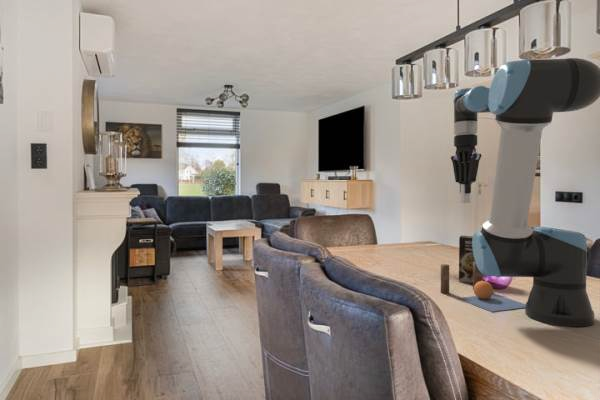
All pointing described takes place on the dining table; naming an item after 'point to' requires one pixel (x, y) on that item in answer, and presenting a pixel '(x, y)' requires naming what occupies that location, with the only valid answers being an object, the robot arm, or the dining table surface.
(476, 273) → the post right
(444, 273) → the post left
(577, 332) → the dining table surface
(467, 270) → the coffee box
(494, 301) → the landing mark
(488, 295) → the ball
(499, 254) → the robot arm
